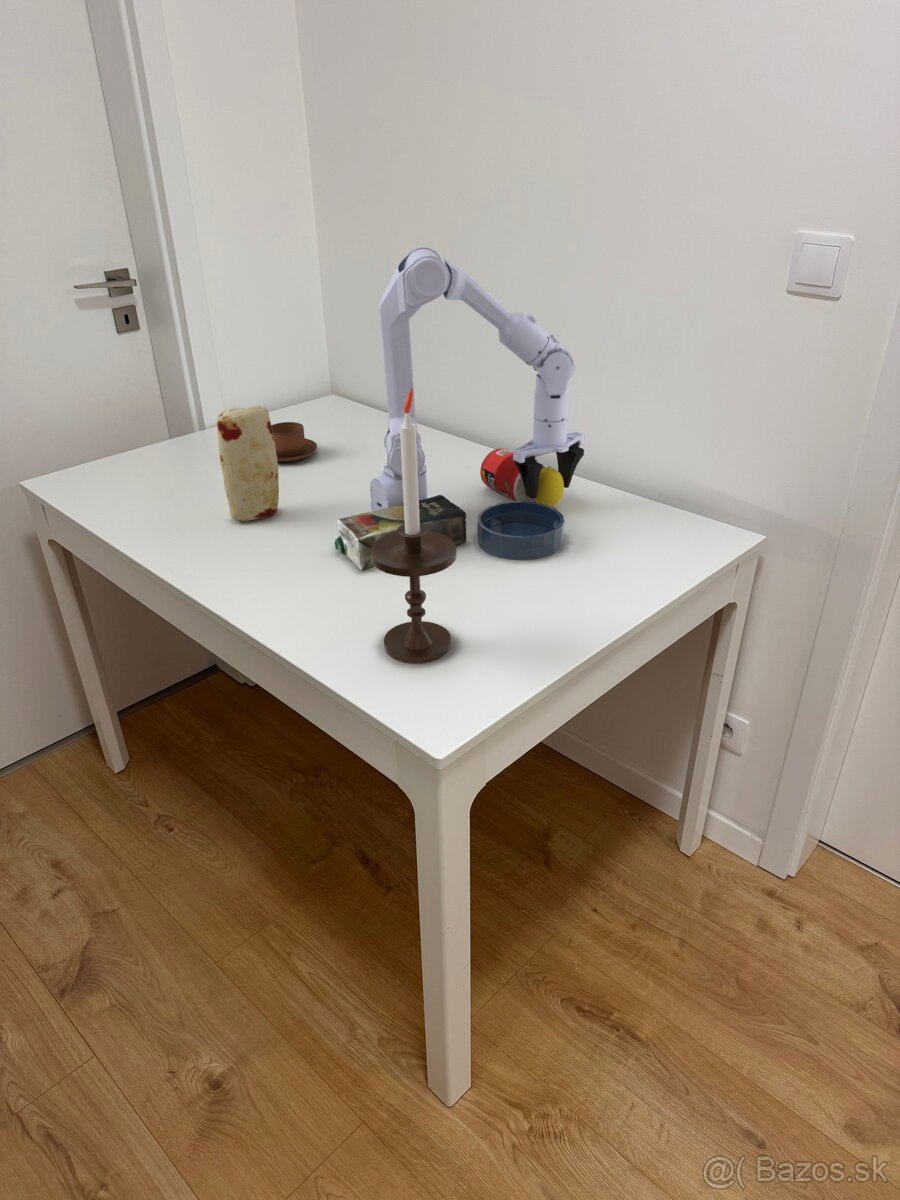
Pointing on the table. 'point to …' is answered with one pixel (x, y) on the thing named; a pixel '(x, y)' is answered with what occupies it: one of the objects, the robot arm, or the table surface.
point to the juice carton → (374, 525)
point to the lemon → (549, 487)
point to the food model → (248, 462)
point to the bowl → (520, 530)
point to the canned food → (503, 475)
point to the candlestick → (413, 563)
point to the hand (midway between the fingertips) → (547, 491)
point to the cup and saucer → (291, 442)
